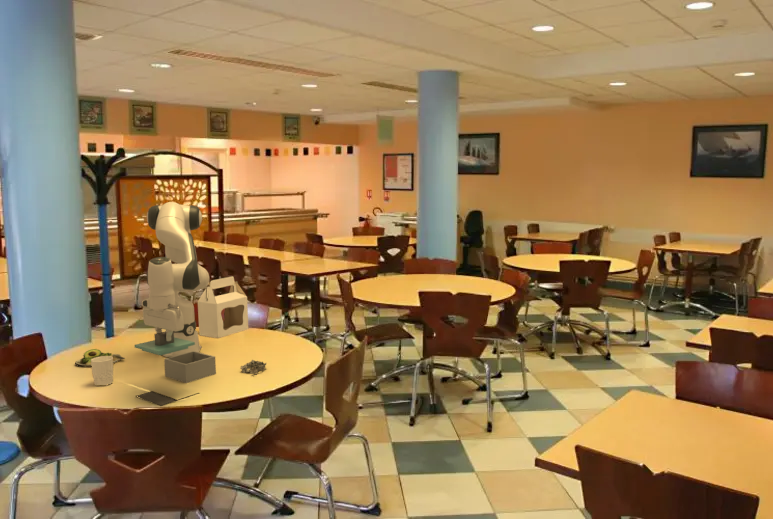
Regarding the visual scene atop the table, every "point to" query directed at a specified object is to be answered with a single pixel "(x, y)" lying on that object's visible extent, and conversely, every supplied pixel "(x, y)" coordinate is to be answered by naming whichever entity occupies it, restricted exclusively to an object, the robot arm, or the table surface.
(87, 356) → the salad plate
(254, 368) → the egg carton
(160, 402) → the rubber mat
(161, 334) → the lid
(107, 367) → the tan cup
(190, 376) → the storage box
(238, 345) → the table surface
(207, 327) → the gable box
